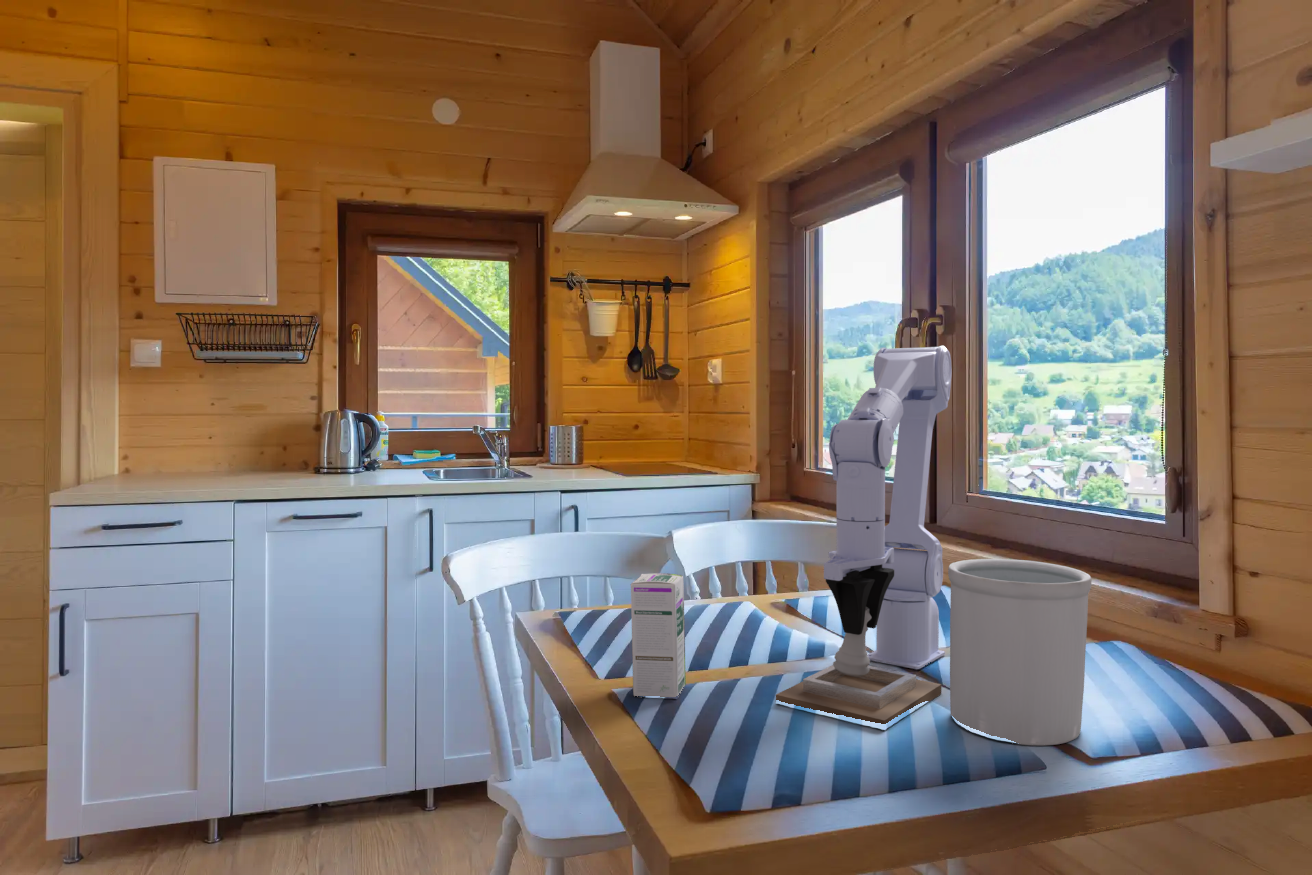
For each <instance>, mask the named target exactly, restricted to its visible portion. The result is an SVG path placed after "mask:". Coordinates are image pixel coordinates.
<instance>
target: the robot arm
mask: <svg viewBox="0 0 1312 875" xmlns="http://www.w3.org/2000/svg"><path fill="white" fill-rule="evenodd" d="M952 372H953V371H952V359H951V353H950V351H949V350H948V349H947V347H946V346H945V345H939V346H928V347H901V348H900V347H898V348H896V347H895V348H887V347H880V349H878V351H877V352H876V354H875V357H874V360H873V380H874V382H875V387H869V389H868V390H866V391H865V392H863V393H862V395H861V396H860V398H859V400H858V401H857V403H856V404H855V406H854V408H853V409H852V411H851V413H850V414H849V416H848V418H847V419H841V420H840V421H839V422H838V423H835V424H834V425H833V426H832V427H831V430H830V433H829V442H828V449H829V451H828V452H829V457H830V461H831V468H832V469H831V470H832V471H831V472H832V479H833V481H836V530H835V532H836V540H835V542H836V543H835V544H836V546H835V547H836V548H835V549H836V550H831V551H829V552H828V553H827V557H828V558H829V560H828V561H825V562H823V579H824V580H825V583H826V585H827V586H828V588H829V590H830V591H831V593H832V595H833V596H832V597H833V598H834V600H835V603H836V607H837V610H838V614H839V617H840V622H841V627H842V629H843V632H844V633H850V634H856V635H860V634H862V631H863V627H864V620H865V610H866V607H868V609H869V613H870V615H871V619H870V620H869V621H868V622H867V628H868V629H872V630H873V629H875V628H876V650H873V651H871V652H870V653H867V656H868V658H869V659H870V662H871V661H873V662H876V663H883V664H887V665H892V666H897V667H902V668H909V669H912V670H913V669H914V670H920V669H922V668H923V667H926V666H927V665H929V664H931V663H933V662H934V661H936V660H938V659H939V658H941V657H943V656H945V655H946V652H945V650H940V649H939V632H940V631H939V630H940V629H939V628H940V626H939V624H940V621H939V620H940V618H939V615H940V614H939V612H940V611H939V607H938V605H937V604H938V603H937V602H936V601H935V599H934V598H935V597H936V596H937V595H938V594H939V593H940V592H941V589H942V586H943V581H944V580H943V578H944V563H943V551H944V550H943V546H942V544H941V542H940V540H939V539H938V538H937V537H936V536H935V535H933V533H931V532H930V531H929V530H927V529H926V527H925V516H926V507H927V496H928V487H929V486H928V485H929V484H928V483H929V474H930V465H931V464H930V462H931V450H932V442H933V441H932V440H933V431H934V430H933V429H934V426H935V421H936V416H937V414H939V413H941V412H942V411H944V410H946V409H947V408H948V406H949V404H948V403H949V400H950V398H951V387H952ZM897 427H898V434H897V441H896V442H897V444H896V453H895V463H894V464H895V465H894V472H893V484H892V493H891V494H892V495H891V504H890V512H889V522H888V524H886V468H887V467H888V466H889V464H890V462H891V459H892V453H893V446H894V444H895V436H894V435H895V431H896V429H897ZM933 597H934V598H933ZM930 662H931V663H930ZM928 663H929V664H928ZM925 665H926V666H925Z"/></svg>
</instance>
